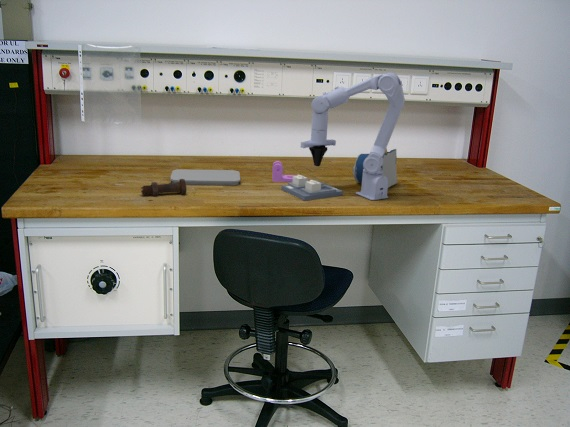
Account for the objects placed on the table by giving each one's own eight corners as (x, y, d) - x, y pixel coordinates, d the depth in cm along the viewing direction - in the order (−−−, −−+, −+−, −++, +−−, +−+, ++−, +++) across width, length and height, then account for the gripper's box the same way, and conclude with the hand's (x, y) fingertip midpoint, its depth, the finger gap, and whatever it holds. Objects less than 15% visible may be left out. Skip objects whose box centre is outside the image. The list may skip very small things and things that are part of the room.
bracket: (272, 181, 221) (273, 164, 218) (272, 178, 226) (273, 160, 224) (306, 182, 221) (307, 165, 219) (304, 179, 227) (305, 162, 224)
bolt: (141, 200, 196) (185, 196, 201) (142, 197, 191) (187, 193, 196) (139, 183, 197) (183, 180, 202) (140, 180, 192) (185, 176, 197)
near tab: (320, 191, 203) (321, 181, 201) (311, 193, 201) (312, 182, 199) (314, 189, 206) (314, 178, 205) (305, 190, 204) (305, 180, 203)
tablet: (240, 187, 212) (240, 181, 211) (169, 186, 209) (169, 180, 208) (238, 175, 227) (239, 170, 227) (173, 174, 224) (172, 169, 223)
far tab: (307, 186, 209) (307, 176, 208) (298, 187, 207) (298, 177, 206) (301, 183, 212) (301, 173, 211) (292, 184, 210) (292, 174, 209)
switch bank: (342, 195, 207) (343, 188, 206) (304, 200, 198) (304, 194, 197) (318, 184, 219) (318, 178, 218) (281, 189, 210) (281, 183, 209)
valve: (398, 183, 225) (397, 145, 221) (381, 191, 213) (380, 151, 209) (367, 182, 232) (366, 145, 229) (350, 189, 220) (349, 150, 217)
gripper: (328, 126, 214) (326, 161, 218) (296, 128, 206) (294, 165, 210) (340, 129, 208) (337, 165, 212) (307, 131, 201) (305, 169, 205)
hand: (317, 165), depth 211 cm, fingers closed
